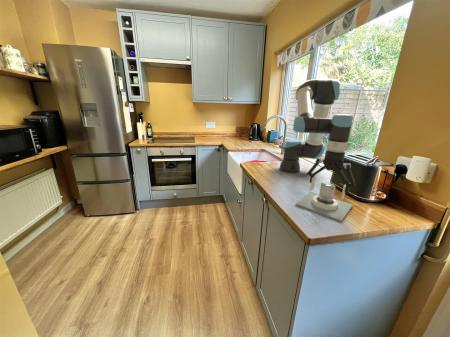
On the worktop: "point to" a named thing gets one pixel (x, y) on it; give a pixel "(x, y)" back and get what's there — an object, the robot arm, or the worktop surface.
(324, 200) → the duct collar
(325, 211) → the duct flange
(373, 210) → the worktop surface
